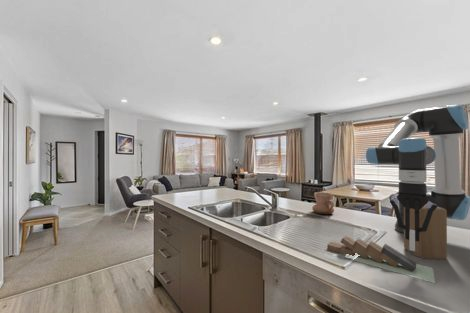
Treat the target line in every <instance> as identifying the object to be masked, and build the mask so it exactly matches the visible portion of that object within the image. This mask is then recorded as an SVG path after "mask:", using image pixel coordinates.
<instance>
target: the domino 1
mask: <svg viewBox="0 0 470 313" xmlns="http://www.w3.org/2000/svg"><path fill="white" fill-rule="evenodd" d="M355 241H356V240H354V239H352V237H350V236H348V235H347V234H346V235H344V236H343V237H342V238H341V240H340V243H341V244H344V245H345V246H347V247H348V248H350V249H351V250H353V251H354V252H356V253H357V254H358V255H360V256H361V257H363V258H364V259H366V258H367V257H368V255H367V254H365V253H364V252H362V251H361V250H359V249H358V248H356V247H355V246H354V245H353V244H354V243H355Z"/></svg>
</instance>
